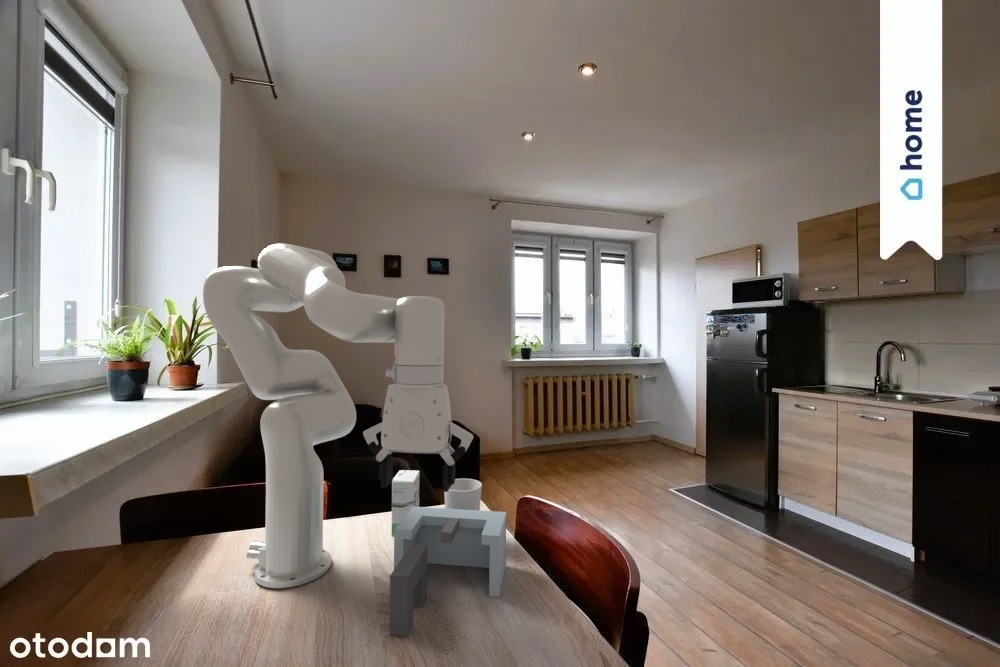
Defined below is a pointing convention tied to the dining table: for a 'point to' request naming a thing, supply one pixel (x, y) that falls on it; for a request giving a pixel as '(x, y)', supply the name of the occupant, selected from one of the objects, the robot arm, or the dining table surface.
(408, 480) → the ink box
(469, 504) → the cup
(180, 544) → the dining table surface
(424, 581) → the grey arch block
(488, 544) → the shelf
